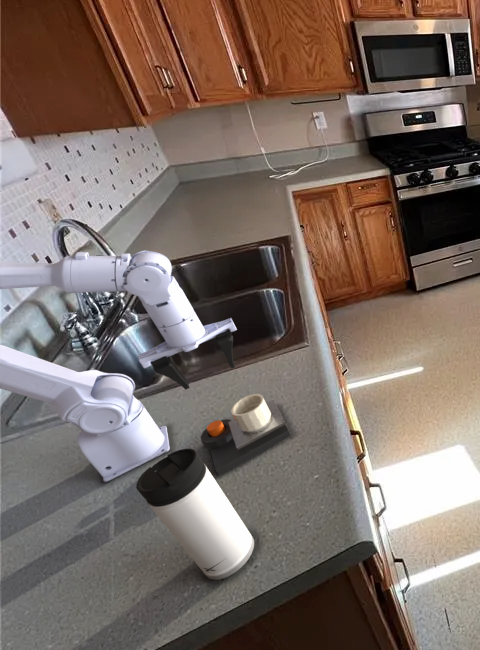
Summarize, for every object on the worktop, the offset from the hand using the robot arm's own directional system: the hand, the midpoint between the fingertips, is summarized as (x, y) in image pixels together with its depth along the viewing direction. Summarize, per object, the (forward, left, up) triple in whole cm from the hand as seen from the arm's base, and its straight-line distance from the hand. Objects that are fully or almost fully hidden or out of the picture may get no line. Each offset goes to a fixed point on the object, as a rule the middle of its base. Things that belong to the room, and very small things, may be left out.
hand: (210, 375), depth 80 cm
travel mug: (-6, -32, -11) cm, 34 cm away
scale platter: (+3, -11, -7) cm, 14 cm away
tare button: (-3, -7, -8) cm, 11 cm away
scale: (+1, -10, -10) cm, 14 cm away
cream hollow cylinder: (+4, -11, -7) cm, 13 cm away
